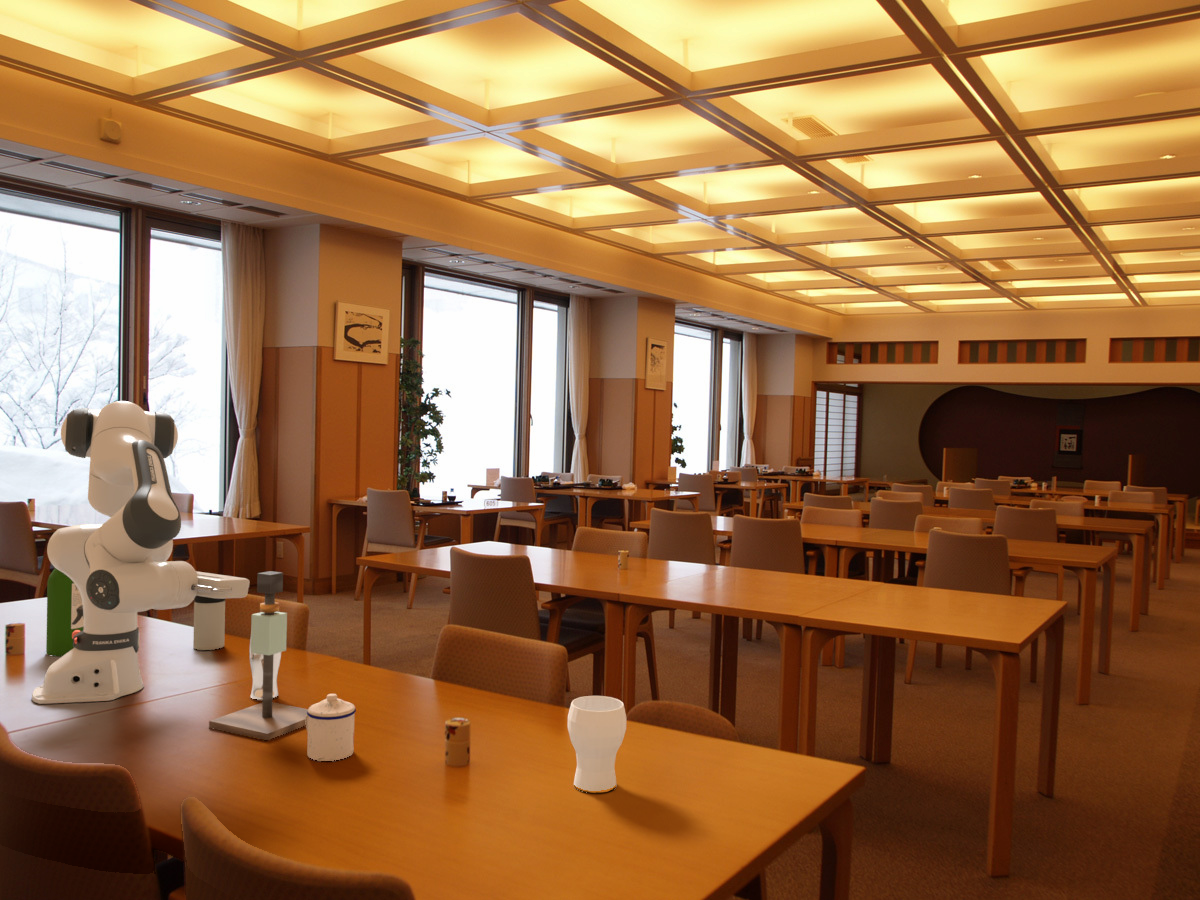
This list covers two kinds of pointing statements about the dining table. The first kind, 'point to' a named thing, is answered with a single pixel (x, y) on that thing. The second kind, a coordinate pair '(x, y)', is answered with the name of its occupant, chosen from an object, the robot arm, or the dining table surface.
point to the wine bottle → (62, 613)
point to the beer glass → (257, 674)
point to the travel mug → (209, 623)
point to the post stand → (264, 686)
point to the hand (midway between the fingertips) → (228, 580)
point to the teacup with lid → (330, 729)
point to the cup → (596, 739)
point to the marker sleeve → (268, 633)
